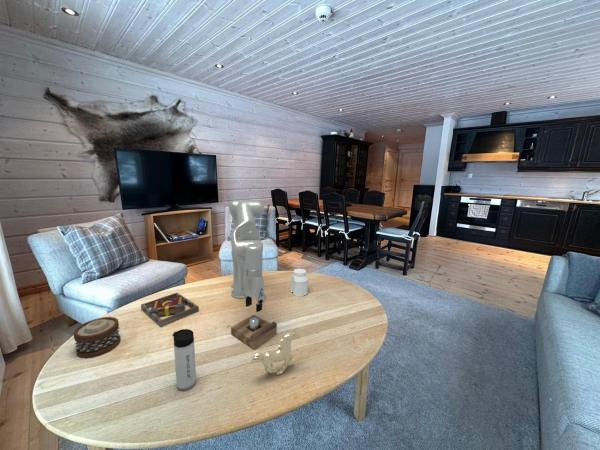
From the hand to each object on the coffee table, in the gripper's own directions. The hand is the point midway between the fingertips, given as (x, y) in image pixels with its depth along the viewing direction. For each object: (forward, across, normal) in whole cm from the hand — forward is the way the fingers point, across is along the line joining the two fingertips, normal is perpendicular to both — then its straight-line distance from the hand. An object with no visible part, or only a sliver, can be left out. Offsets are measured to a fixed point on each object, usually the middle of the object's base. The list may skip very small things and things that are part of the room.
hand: (253, 308), depth 112 cm
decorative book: (+14, -50, -16) cm, 54 cm away
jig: (+14, 0, 0) cm, 14 cm away
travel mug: (+14, +3, -34) cm, 37 cm away
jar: (+14, -11, +48) cm, 51 cm away
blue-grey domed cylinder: (+14, 0, 0) cm, 14 cm away
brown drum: (+14, -43, -48) cm, 66 cm away
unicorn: (+14, +24, -10) cm, 29 cm away
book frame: (+14, -50, -16) cm, 54 cm away
